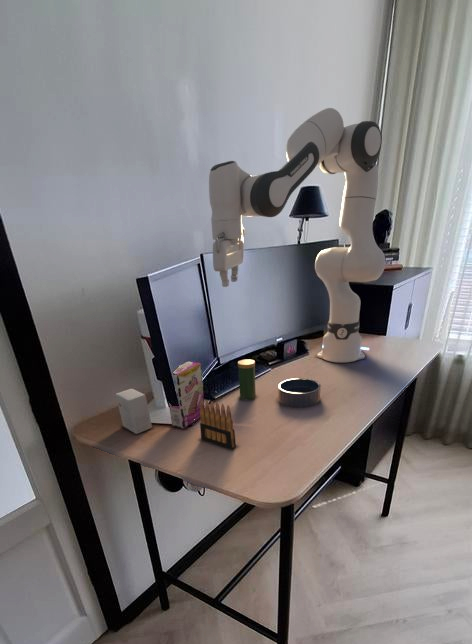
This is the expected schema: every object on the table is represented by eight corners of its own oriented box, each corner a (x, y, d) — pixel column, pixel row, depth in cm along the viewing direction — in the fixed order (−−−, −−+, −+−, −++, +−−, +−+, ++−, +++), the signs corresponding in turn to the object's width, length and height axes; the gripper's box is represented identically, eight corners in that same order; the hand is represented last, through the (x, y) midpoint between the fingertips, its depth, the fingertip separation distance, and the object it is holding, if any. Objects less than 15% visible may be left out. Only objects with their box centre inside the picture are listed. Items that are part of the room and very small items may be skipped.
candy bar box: (185, 429, 116) (177, 374, 107) (171, 426, 119) (163, 372, 110) (207, 414, 124) (201, 362, 115) (193, 412, 126) (187, 360, 117)
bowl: (282, 391, 136) (282, 377, 134) (321, 393, 133) (322, 379, 130) (274, 407, 126) (274, 392, 123) (317, 410, 123) (318, 394, 120)
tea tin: (242, 394, 137) (240, 359, 130) (257, 394, 135) (256, 359, 129) (237, 400, 132) (235, 364, 126) (253, 401, 131) (252, 364, 124)
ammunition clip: (201, 439, 111) (196, 398, 104) (205, 437, 112) (200, 396, 105) (231, 449, 105) (228, 407, 99) (236, 446, 106) (233, 404, 100)
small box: (152, 428, 118) (146, 394, 113) (136, 434, 115) (128, 400, 110) (138, 420, 124) (131, 387, 118) (122, 426, 121) (114, 393, 115)
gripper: (227, 233, 108) (230, 289, 116) (246, 229, 125) (248, 278, 132) (205, 234, 110) (209, 289, 118) (226, 230, 126) (229, 279, 134)
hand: (230, 283), depth 125 cm, fingers open, 8 cm apart
